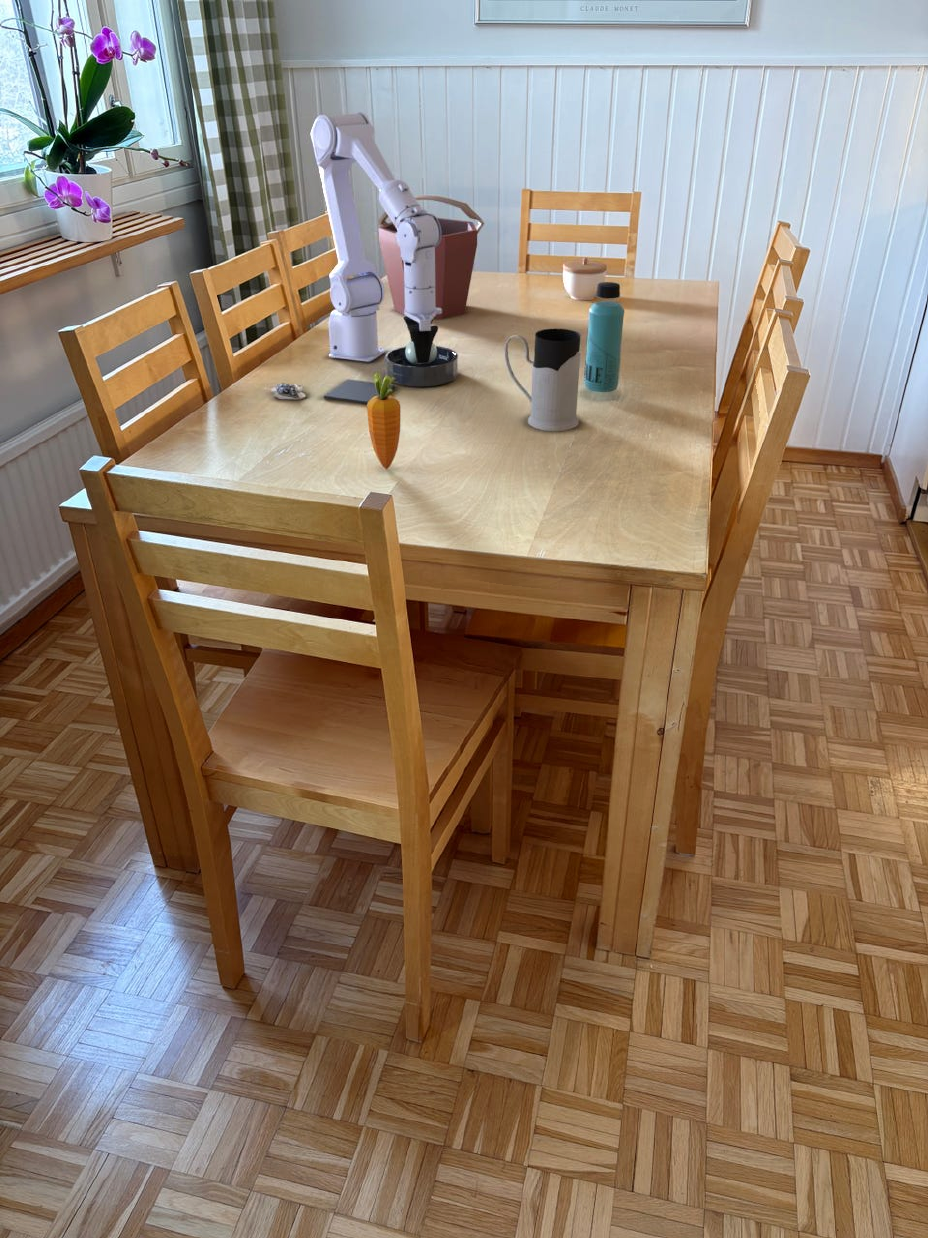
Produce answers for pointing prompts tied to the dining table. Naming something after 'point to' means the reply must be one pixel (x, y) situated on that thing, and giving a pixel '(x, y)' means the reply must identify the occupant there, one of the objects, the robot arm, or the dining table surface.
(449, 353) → the basin
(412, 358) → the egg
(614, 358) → the beverage bottle
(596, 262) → the trinket box
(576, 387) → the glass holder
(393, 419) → the carrot
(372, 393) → the mat
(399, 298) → the bucket
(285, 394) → the blueberries
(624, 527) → the dining table surface
